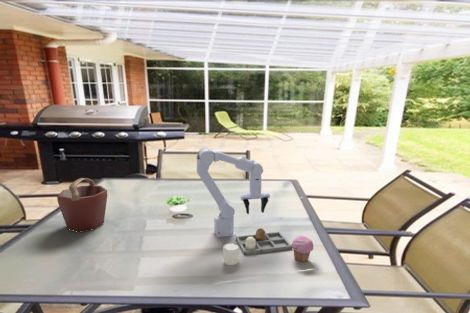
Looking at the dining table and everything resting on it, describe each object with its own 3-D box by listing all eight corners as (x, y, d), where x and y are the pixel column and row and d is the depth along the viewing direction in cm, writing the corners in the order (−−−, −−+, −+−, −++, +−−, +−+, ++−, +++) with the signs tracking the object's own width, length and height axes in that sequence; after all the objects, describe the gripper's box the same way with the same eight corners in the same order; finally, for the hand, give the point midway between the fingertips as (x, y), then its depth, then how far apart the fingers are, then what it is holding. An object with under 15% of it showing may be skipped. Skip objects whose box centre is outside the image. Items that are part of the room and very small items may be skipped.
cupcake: (297, 252, 135) (298, 230, 133) (316, 258, 130) (317, 236, 128) (287, 260, 128) (288, 238, 126) (306, 267, 123) (307, 244, 121)
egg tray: (244, 256, 132) (244, 251, 132) (235, 240, 146) (235, 236, 146) (291, 249, 137) (292, 245, 137) (279, 235, 151) (279, 231, 151)
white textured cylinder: (230, 256, 132) (230, 241, 130) (242, 261, 127) (243, 246, 126) (219, 263, 126) (219, 247, 125) (232, 269, 122) (232, 252, 121)
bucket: (88, 237, 149) (83, 187, 144) (48, 233, 153) (42, 185, 148) (117, 218, 172) (113, 174, 167) (81, 215, 177) (77, 172, 172)
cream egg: (247, 252, 134) (247, 240, 133) (244, 247, 138) (244, 235, 137) (256, 251, 135) (257, 238, 134) (253, 246, 139) (253, 234, 138)
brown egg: (257, 243, 142) (257, 231, 141) (254, 238, 146) (254, 227, 145) (266, 242, 143) (266, 230, 142) (263, 237, 147) (263, 226, 146)
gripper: (243, 189, 147) (242, 216, 150) (272, 187, 150) (271, 214, 153) (239, 185, 154) (239, 211, 156) (267, 183, 157) (267, 209, 160)
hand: (255, 212), depth 155 cm, fingers open, 7 cm apart
